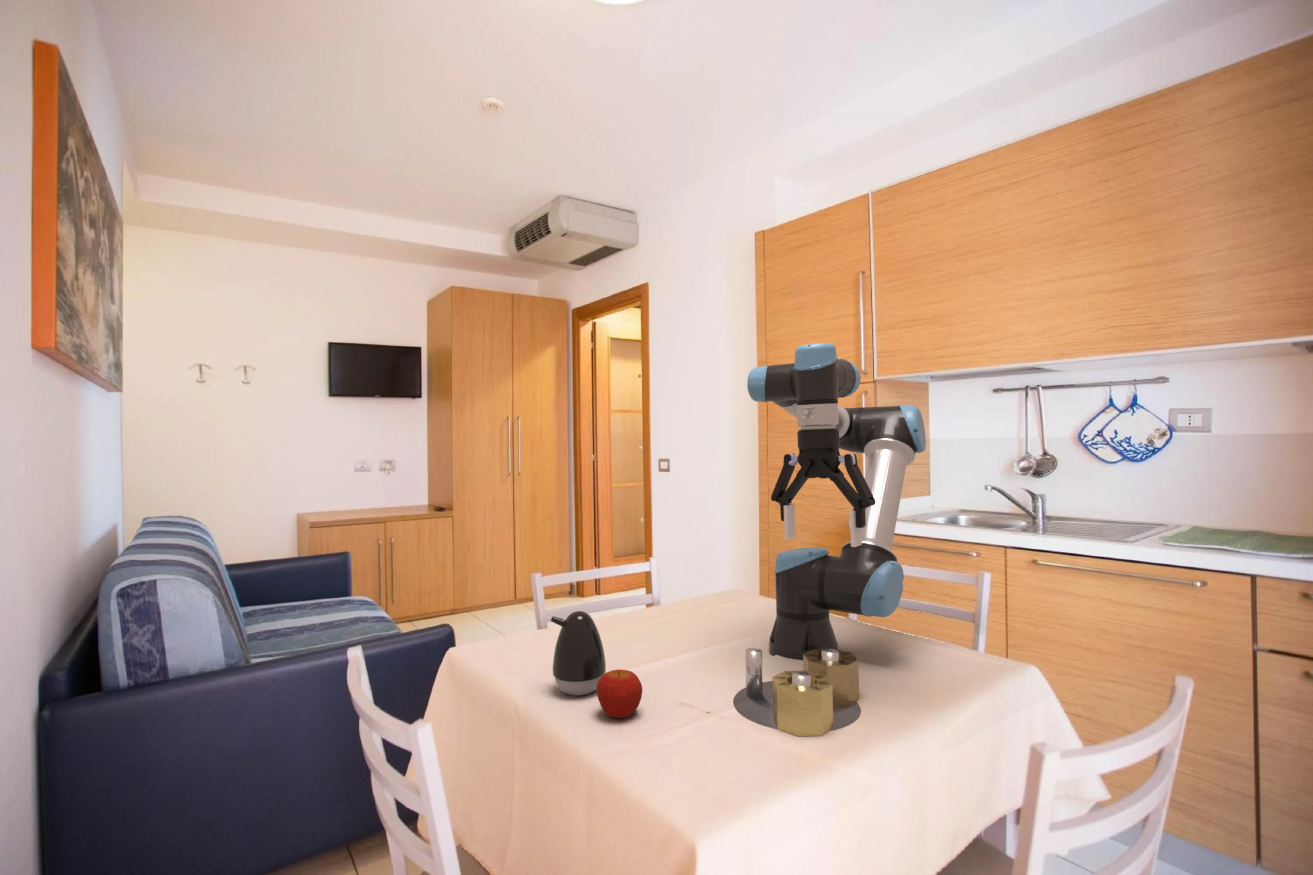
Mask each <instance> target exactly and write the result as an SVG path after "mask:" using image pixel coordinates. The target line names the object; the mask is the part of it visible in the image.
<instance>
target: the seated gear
mask: <svg viewBox="0 0 1313 875" xmlns="http://www.w3.org/2000/svg"><path fill="white" fill-rule="evenodd" d="M822 650H823V649H813V650H811V651H809V652H806V653H804V654H803V660H802V661H803V664H802V665H803V666H802V667H803V671H810V672H813V673H817V674H821V675H824V676H826V677H827V678H828V679H829V681H830V682H831V683H832V689H833V706H849V705H851V704H852V703H854V702H855V701H856V702H857V701H859V700H860V686H859V685H860V684H859V682H860V681H859V676H860V675H859V659H858V658H857V657H856V656H855V655H854V654H853V653H852V652H848V651H844V650H840V649H838V650H837V651H838V652H839V661H831V662H828V661H824V660H822ZM834 650H836V649H834Z"/></svg>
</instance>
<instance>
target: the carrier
mask: <svg viewBox="0 0 1313 875" xmlns="http://www.w3.org/2000/svg"><path fill="white" fill-rule="evenodd" d="M744 653H745V687H744V688H742V689H741V690H739V691H737V693H736V694H735V695H734V697H733V701H732V703H733V707H734V709H735V710H736V712H737V713H738V714H740V716H742V717H743V718H745V719H746V720H748V721H751V722H753V723H755V724H757V725H760V726H763V727H766V728H769V729H770V728H771V729H774V730H779V729H777V726H776V724H775V722H774V719H773V680H772V681H771V680H769V681H764V682H763V650H762V649H760V648H757V647H750V648H746V649H745V651H744ZM822 660H824V661H828V662H831V661H839V652H838V651H837V650H834V649H823V650H822ZM792 684H793V685H797V686H811V675H810V674H809V673H807V672H794V673H792ZM861 714H862V708H861V706H860V704H859V702H857V701H855V702H854V703H852V704H851V705H849V706H833V729H831V730H830V731H829V732H831V731H836V730H840V729H844V728H846V727H848V726H850V725H852V724H854V723H855V722H857V721H858V720H859V718H860V716H861ZM779 731H780V730H779Z"/></svg>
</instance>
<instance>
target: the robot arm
mask: <svg viewBox="0 0 1313 875" xmlns="http://www.w3.org/2000/svg"><path fill="white" fill-rule="evenodd" d="M861 379H862V377H861V373H860V370H859V368H858V367H857V366H856V365H855V363H853V362H851V361H850V360H849V361H848V359H845V358H838V355H837V348H836V346H835V344H833V343H829V342H817V343H808V344H807V343H806V344H801V345H799V346H798V347H797V348H796V349H795V351H794V363H783V364H782V363H781V364H773V365H772V364H770V365H768V364H766V365H763V366H758V367H753V368H752V369H751V370H750V372H749V373H748V376H747V385H746V386H747V392H748V395H749V397H750V398H751V399H752V401H754V402H758V403H767V402H772V403H773V404H775V405H777V406H778V407H780V408H781V409H783V410H784V411H786V412H787V413H789V414H790V415H792V416H793V417H795V418H796V424H797V427H800V429H798V431H797V433H796V435H797V448H798V450H799V451H798V454H796V453H786V454H784V456H783V461H782V462H783V465H782V467H781V470H780V473H779V476H778V478H777V481H776V483H775V485H774V488H773V491H772V493H771V496H770V500H771V501H772V502H776V503H778V504H779V507H780V520H781V521H782V522H783V525H784V526H783V527H784V529H783V530H784V540H792V539H796V537H797V535H796V530H797V529H796V506H795V503H793V500H794V499H795V497H796V496H797V494H798V493H799V492H800V490H801V489H802V488H803V486H804V484H806V482H807V481H808V480H809V479H816V478H819V479H829V481H831V482H833V483H834V485H835V486H836V487H837V489H838V490H839V491H840V492H841V494H842V496H844V497H845V499H846V500H847V501H848V503H849V504H850V505H851V506H852V509H850V510H849V528H850V541H848V542H846V543H844V544H843V545H842V547H841V552H840V555H839V556H837V555H836V556H835V555H830V552H829V550H828V548H826V547H823V546H822V547H821V546H819V547H818V546H817V547H815V546H813V547H811V546H810V547H801V548H793V549H788V550H783V551H781V552H779V553H778V554H777V555H776V557H775V571H774V574H775V577H774V578H775V580H774V581H775V606H776V610H775V612H776V614H775V615H776V618H775V621H774V624H773V627H772V630H771V633H770V635H769V636H770V637H769V641H768V651H769V653H770V654H771V655H772V656H773V657H774V656H778V657H782V658H786V659H791V660H798V661H803V654H804V653H806V652H809V651H811V650H813V649H836V650H839V643H838V640H837V637H836V635H835V632H834V631H835V630H834V628H833V625H832V623H831V619H830V611H835V612H841V613H847V614H853V615H859V616H860V615H861V616H864V617H876V618H877V617H879V618H887V617H889V616H891V615H892V614H894V612H896V609H897V608H898V606H899V604H900V601H901V599H902V595H903V590H904V584H903V583H904V581H905V580H904V577H905V575H904V570H903V567H902V565H901V563H899V562H898V557H897V555H896V554H895V553H894V552H893V550H892V548H893V543H894V537H895V533H896V526H897V521H898V520H897V519H898V516H899V509H900V503H901V496H902V492H903V487H904V480H905V474H906V469H907V467H908V466H910V465H911V464H913V462H914V461H915V459H916V454H920V453H924V452H925V451H926V447H927V444H926V443H927V441H926V431H925V430H926V429H925V423H924V419H923V415H922V413H921V410H920V409H919V407H917V406H916V405H912V404H907V405H906V404H905V405H904V404H901V403H899V404H898V405H887V406H885V405H884V406H883V405H881V406H866V407H859V406H858V407H843V406H841V405H839V400H838V399H839V398H842V399H843V398H846V397H849V396H851V395H853V394H854V393H855V392H856V391H857V390H858V388H859V387H860V385H861ZM840 450H844V451H847V452H850V453H846V454H844V455H841V454H840ZM857 453H858V454H864V456H866V458H867V459H868V461H867V465H866V470H865V474H864V475H863V472H862V470H861V469H860V467H859V463H858V456H857ZM841 463H842V465H843V467H845V470H846V472H847V474H848V476H849V479H850V480H851V482H852V484H851V483H850V482H849V481H848V479H847V478H846V477H845V475H844V473H843V471H842V470H841V469H840V468H839V466H840V465H841ZM797 464H798V465H799V466H800V468H799V470H798V471H797V473H796V474H795V477H794V478H793V480H792V482H790V481H791V478H792V475H793V474H794V471H795V468H796V466H797ZM853 486H854V487H853Z"/></svg>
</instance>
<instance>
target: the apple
mask: <svg viewBox="0 0 1313 875" xmlns="http://www.w3.org/2000/svg"><path fill="white" fill-rule="evenodd" d="M640 680H641V679H639V677H638V675H636V673H634V672H633V671H631V670H629V669H628V670H627V669H620V668H619V669H614V670H610V671H607V672H606V671H605V673H604V674H603V675H602V677H601V678H600V679H599V681H598V683H597V687H596V688H597V689H596V696H597V700H598V702H599V705H600V707H601V709H602V710H603V713H604V714H606V715H607V716H609V717H610V718H613V719H623V718H627V717H629V716H630V715H632V714H635V712H637V709H638V708H639V705H640V703H641V700H642V698H643V697H642V696H643V685H642V683H641V681H640Z"/></svg>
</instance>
